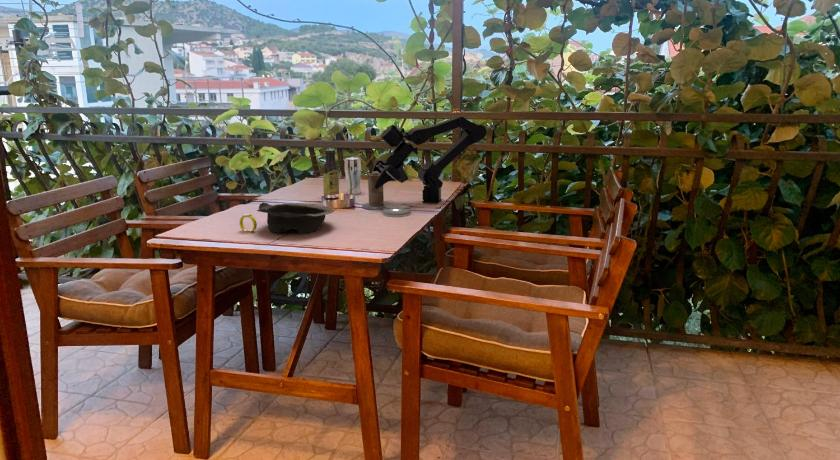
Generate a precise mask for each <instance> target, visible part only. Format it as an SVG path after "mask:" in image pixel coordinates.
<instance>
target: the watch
mask: <svg viewBox="0 0 840 460" xmlns="http://www.w3.org/2000/svg"><path fill="white" fill-rule="evenodd" d="M244 218H249V219H250V220H251V221H252V225H253V227H252V231H253V232H254V230H255V231H256V229H257V226H258V225H257V221H256V220H257V219H256V217H254V215H252V213H243V214H242V216H241V217H240V219H239V226H240V229H241V230H242V231H243V230H244V229H247V228H246V227H245V225H244Z"/></svg>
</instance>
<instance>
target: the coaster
mask: <svg viewBox="0 0 840 460" xmlns="http://www.w3.org/2000/svg"><path fill="white" fill-rule="evenodd" d="M390 205H391V204H390V203H387V202H384V206H379V207H371V206H370V205H369V202H367V203H366V202H365V203H364V204H362V205H361V209H364V210H368V211H380V210H382V211H383V208H384V207H385V206H390Z"/></svg>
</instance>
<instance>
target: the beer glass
mask: <svg viewBox="0 0 840 460" xmlns="http://www.w3.org/2000/svg"><path fill="white" fill-rule="evenodd" d="M344 174H345V178H346V185H347V186H346V187H347V189H346V194H347V193H348V194H347V195H349V194H353V195H352V196H355V195H361V194H362V189H361V178H362V162H361V157H357V156H351V157H345V158H344Z"/></svg>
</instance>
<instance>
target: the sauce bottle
mask: <svg viewBox="0 0 840 460" xmlns="http://www.w3.org/2000/svg"><path fill="white" fill-rule="evenodd" d="M324 154H325V163H324V164H323V166H322V169H323V172H322V175H323V176H322V178H323V195H324V196H326V195H335V194H339V195H340V183H339V182H340V180H339V177H340V175H339V174H340V173H339V168H338V164H337V162H336V149H325V150H324ZM324 196H323V197H324Z"/></svg>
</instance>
